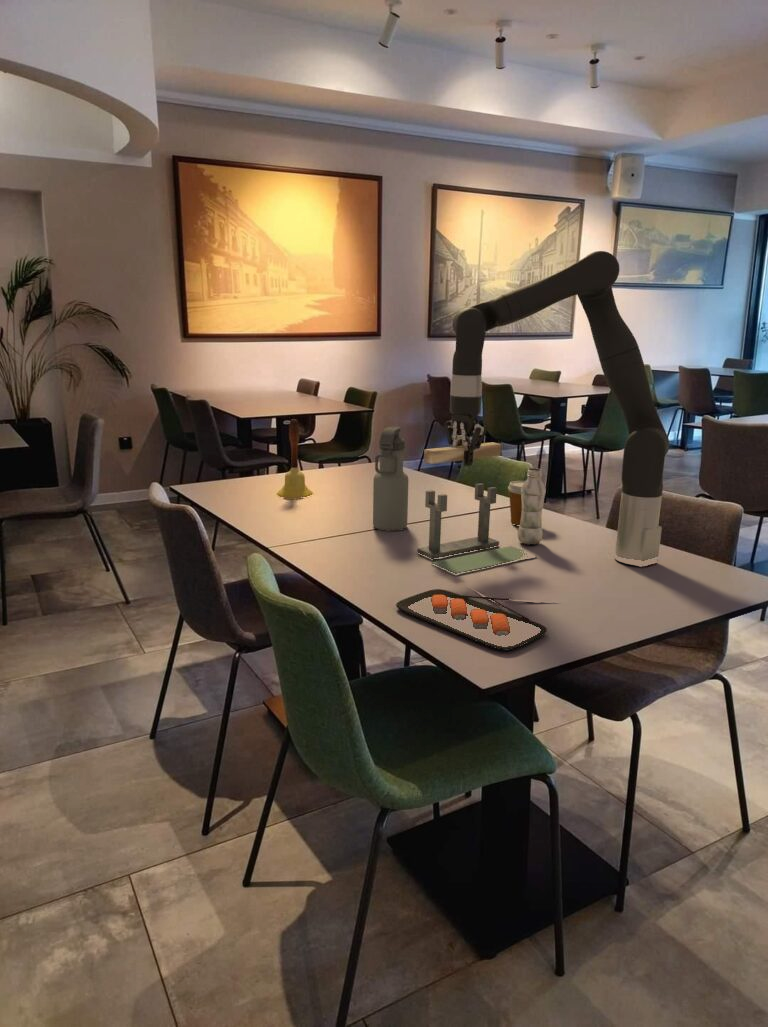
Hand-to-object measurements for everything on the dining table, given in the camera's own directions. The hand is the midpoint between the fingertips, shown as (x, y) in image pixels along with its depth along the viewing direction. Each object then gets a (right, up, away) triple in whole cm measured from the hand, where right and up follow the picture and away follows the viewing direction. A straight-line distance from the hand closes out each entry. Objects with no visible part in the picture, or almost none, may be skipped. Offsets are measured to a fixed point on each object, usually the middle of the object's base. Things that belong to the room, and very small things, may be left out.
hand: (463, 464), depth 178 cm
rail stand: (0, -22, +6) cm, 22 cm away
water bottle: (-18, -16, +26) cm, 35 cm away
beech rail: (0, +1, 0) cm, 1 cm away
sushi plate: (+2, -33, -33) cm, 46 cm away
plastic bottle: (+19, -20, +13) cm, 31 cm away
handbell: (-49, -6, +62) cm, 80 cm away
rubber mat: (+5, -24, -2) cm, 25 cm away
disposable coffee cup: (+21, -16, +31) cm, 41 cm away
